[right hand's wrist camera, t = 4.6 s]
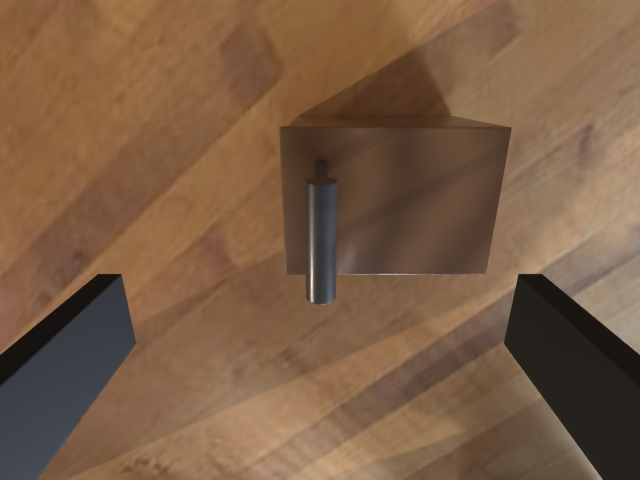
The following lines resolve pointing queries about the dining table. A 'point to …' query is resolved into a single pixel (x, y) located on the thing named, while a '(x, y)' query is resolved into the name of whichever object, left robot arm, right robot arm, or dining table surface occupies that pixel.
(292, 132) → the lid
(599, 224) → the dining table surface
